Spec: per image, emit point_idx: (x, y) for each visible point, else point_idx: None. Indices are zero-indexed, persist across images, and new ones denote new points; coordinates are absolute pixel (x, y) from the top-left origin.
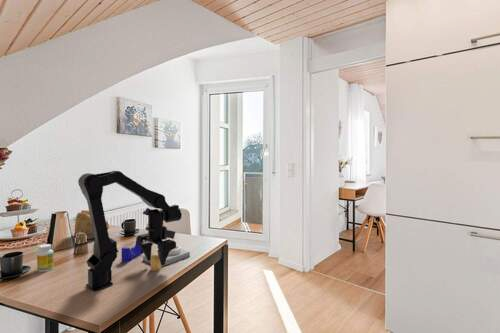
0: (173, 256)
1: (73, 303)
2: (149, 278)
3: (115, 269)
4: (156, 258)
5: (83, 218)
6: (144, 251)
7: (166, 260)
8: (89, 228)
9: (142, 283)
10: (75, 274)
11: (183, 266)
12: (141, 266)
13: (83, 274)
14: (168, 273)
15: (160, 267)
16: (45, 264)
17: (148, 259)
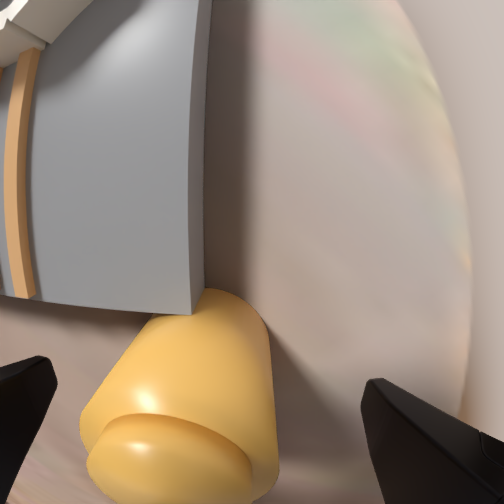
0: (157, 12)
1: None
2: (342, 465)
3: (36, 453)
4: (261, 491)
5: None
6: (7, 496)
7: (188, 178)
8: None
9: (354, 498)
10: (32, 500)
11: (425, 98)
12: (58, 372)
13: (41, 500)
14: (425, 334)
15: (266, 336)
16: None
17: (51, 387)
